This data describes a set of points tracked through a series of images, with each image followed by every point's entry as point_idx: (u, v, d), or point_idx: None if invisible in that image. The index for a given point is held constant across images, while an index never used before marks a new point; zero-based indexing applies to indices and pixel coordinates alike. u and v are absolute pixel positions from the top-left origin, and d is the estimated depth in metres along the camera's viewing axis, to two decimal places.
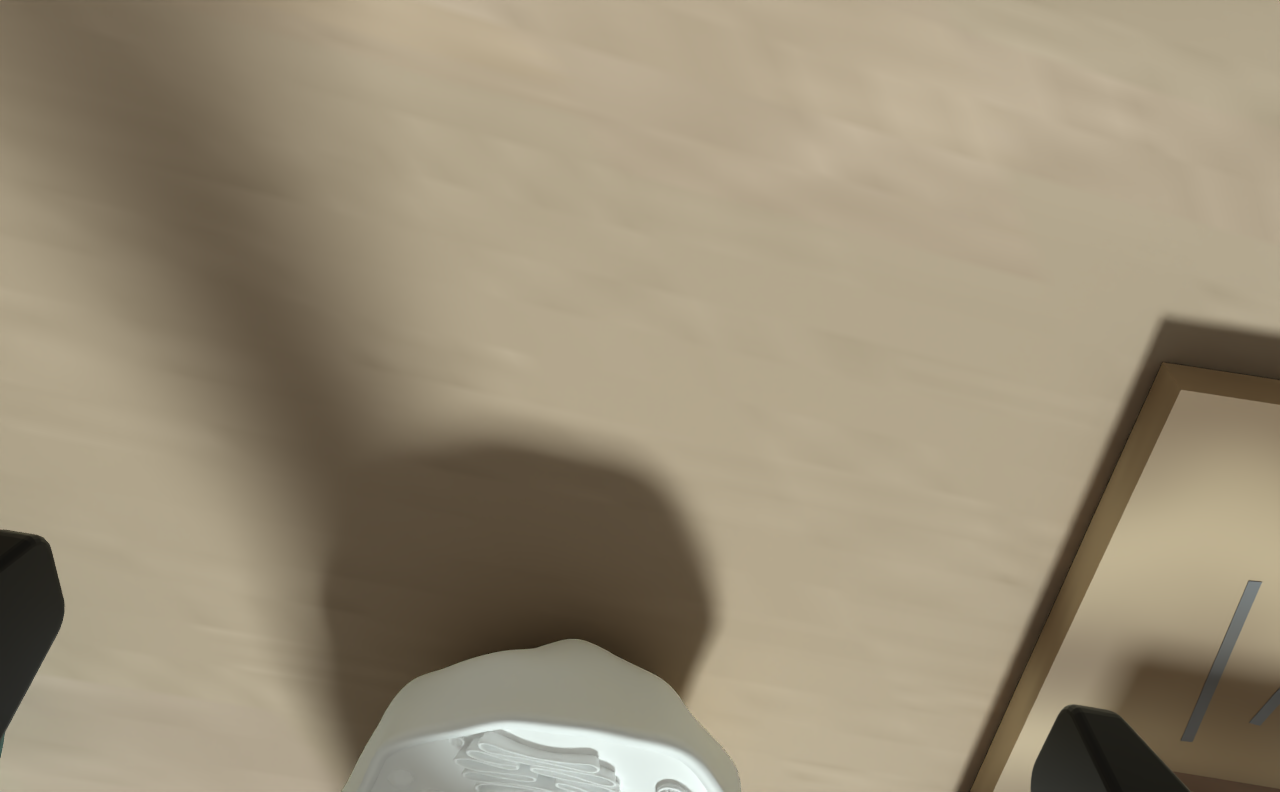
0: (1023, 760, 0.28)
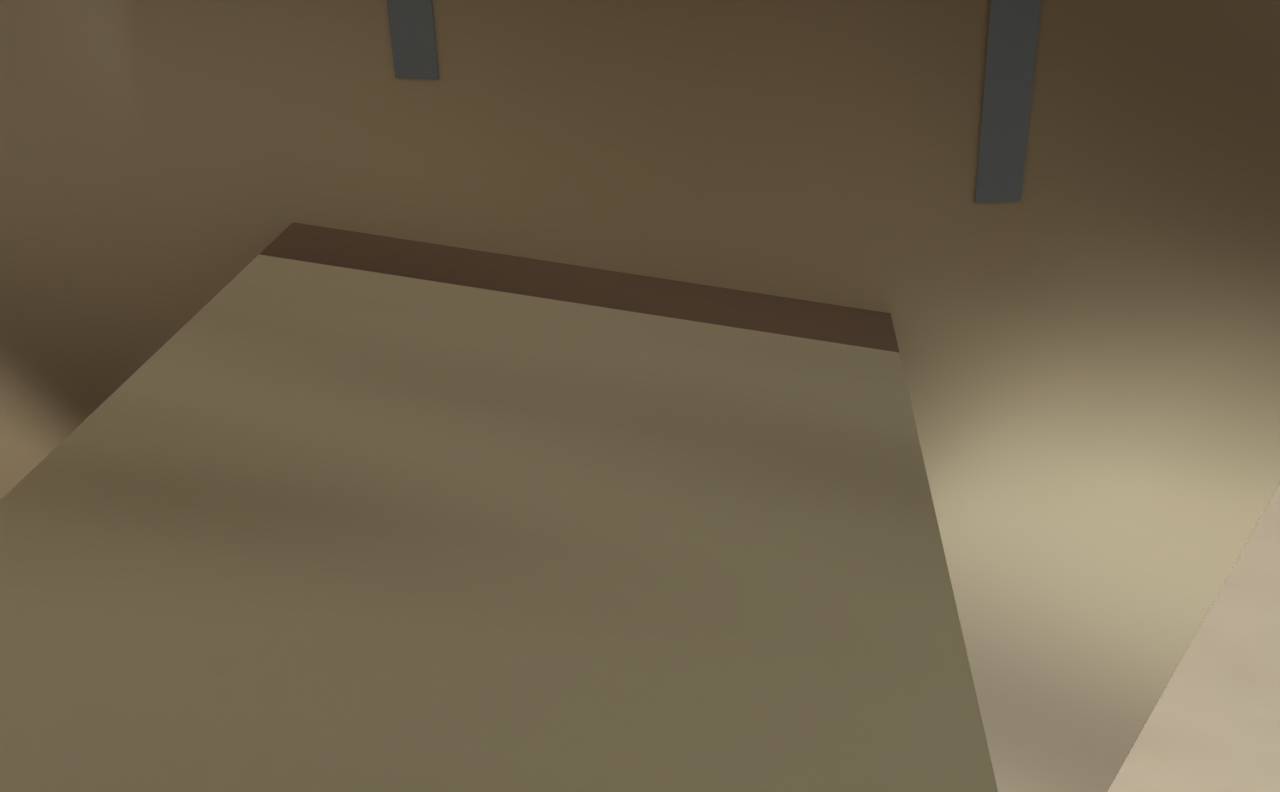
0: None
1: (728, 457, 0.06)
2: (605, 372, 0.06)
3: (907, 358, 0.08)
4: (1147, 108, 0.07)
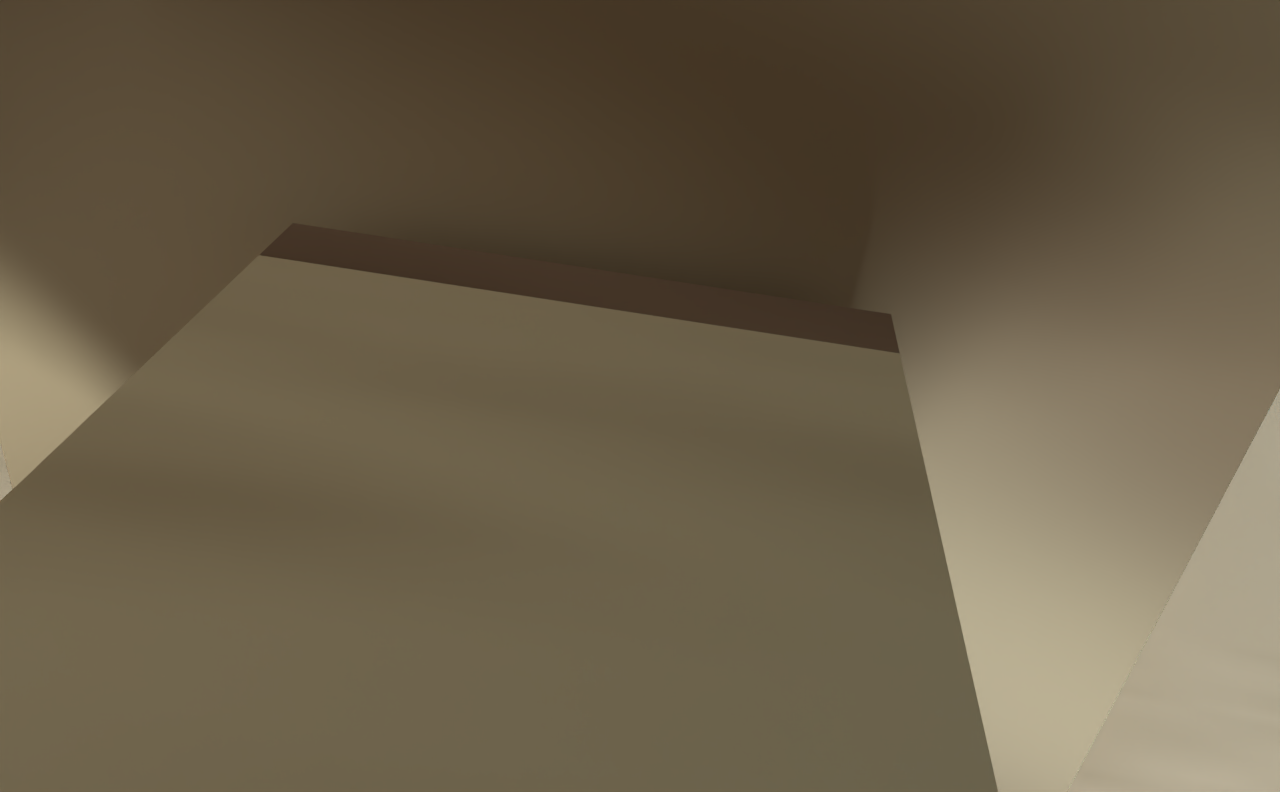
0: None
1: (728, 458, 0.06)
2: (605, 373, 0.06)
3: None
4: None
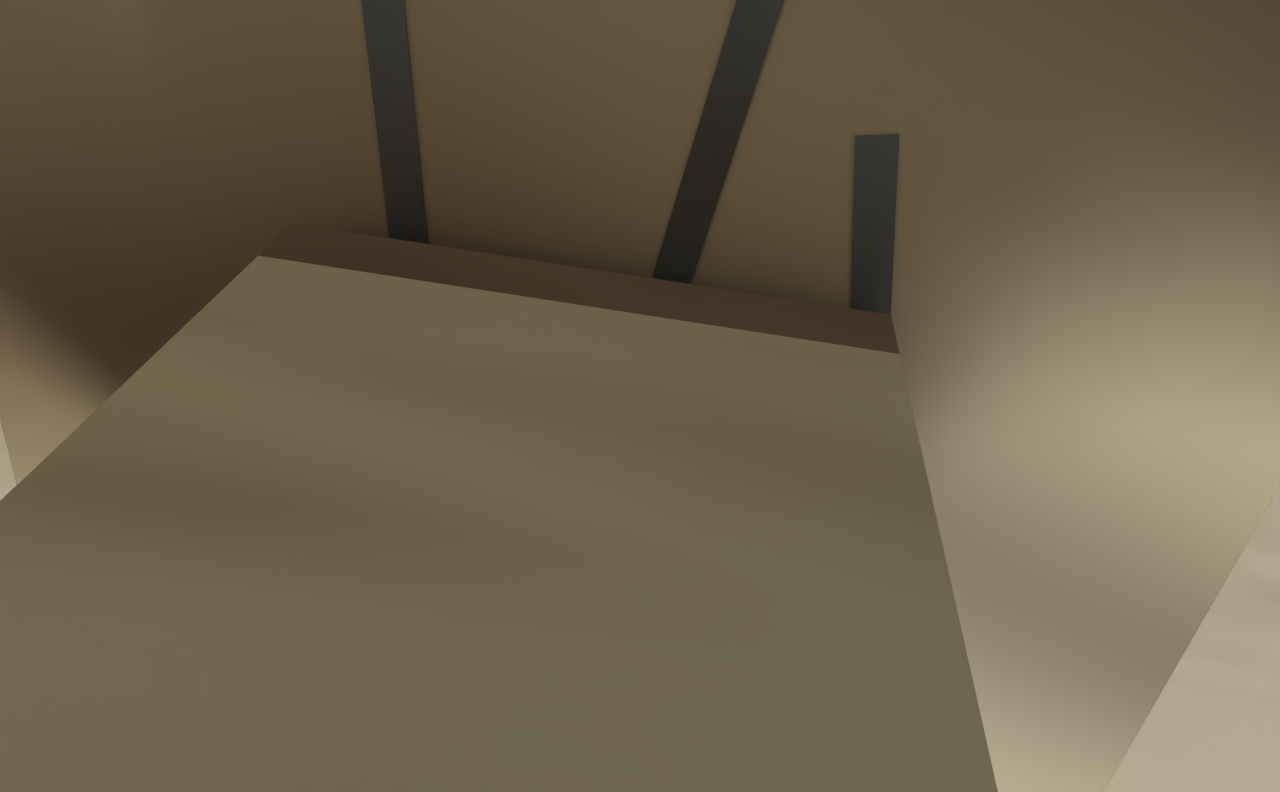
0: None
1: (728, 459, 0.06)
2: (605, 374, 0.06)
3: None
4: None
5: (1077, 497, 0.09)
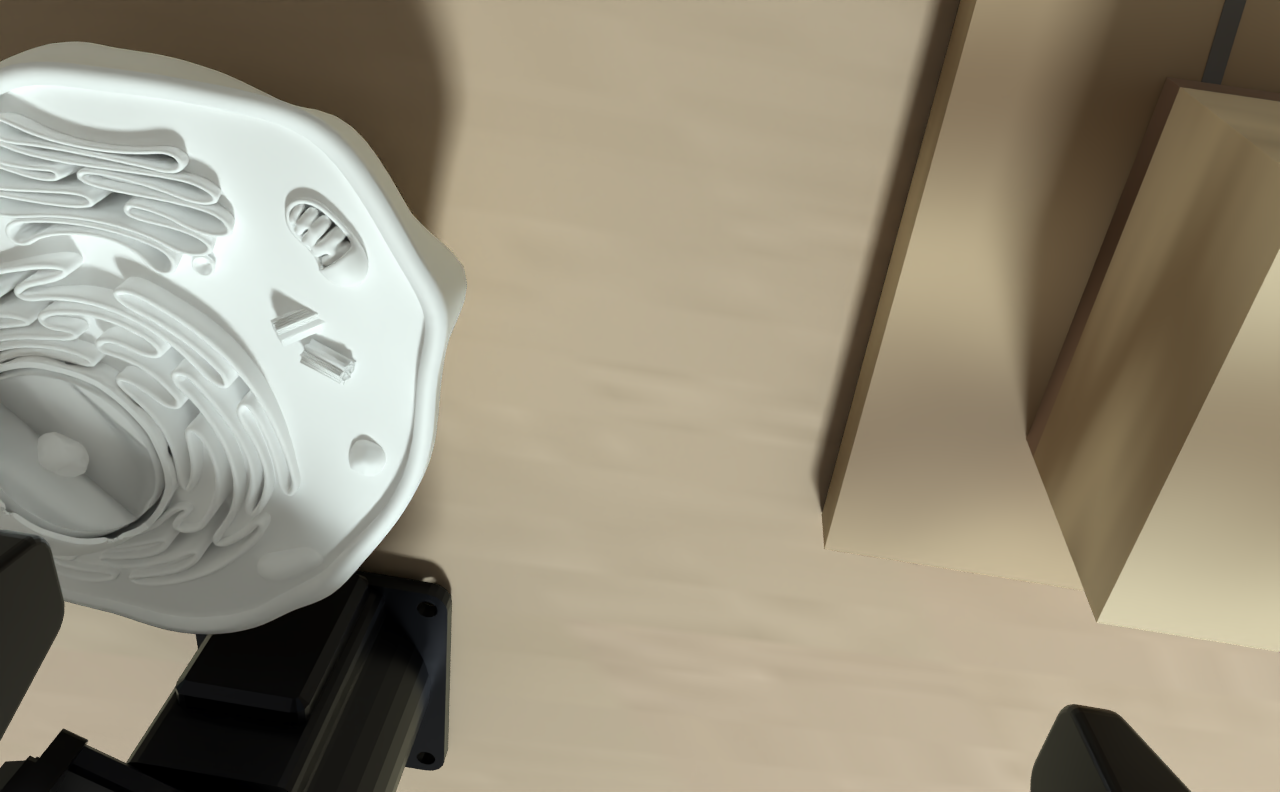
0: (916, 302, 0.19)
1: None
2: None
3: None
4: None
5: None
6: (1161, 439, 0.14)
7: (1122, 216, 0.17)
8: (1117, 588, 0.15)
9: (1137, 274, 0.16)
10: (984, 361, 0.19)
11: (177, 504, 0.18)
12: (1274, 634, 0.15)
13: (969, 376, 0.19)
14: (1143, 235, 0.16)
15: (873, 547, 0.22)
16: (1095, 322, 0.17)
